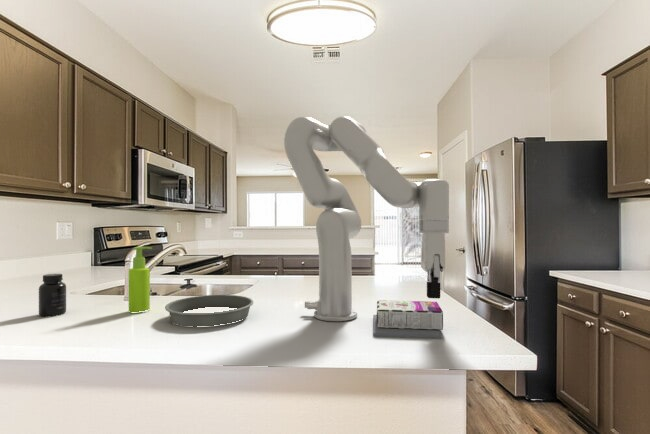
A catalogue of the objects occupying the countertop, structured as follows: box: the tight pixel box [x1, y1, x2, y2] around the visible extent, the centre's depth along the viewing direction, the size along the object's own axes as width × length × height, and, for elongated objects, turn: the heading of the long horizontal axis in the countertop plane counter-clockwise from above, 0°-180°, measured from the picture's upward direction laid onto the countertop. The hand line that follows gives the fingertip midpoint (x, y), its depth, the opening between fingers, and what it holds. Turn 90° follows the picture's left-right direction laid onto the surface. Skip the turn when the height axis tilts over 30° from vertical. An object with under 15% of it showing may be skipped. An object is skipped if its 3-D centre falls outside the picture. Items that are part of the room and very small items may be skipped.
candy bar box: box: [376, 299, 444, 331], centre depth 101 cm, size 11×5×16 cm
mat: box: [372, 314, 443, 339], centre depth 101 cm, size 16×18×1 cm
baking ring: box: [164, 294, 254, 328], centre depth 112 cm, size 25×25×4 cm
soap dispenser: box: [128, 246, 153, 312], centre depth 120 cm, size 6×7×20 cm
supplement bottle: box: [38, 273, 67, 318], centre depth 116 cm, size 7×7×12 cm
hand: (433, 297), depth 100 cm, fingers closed
